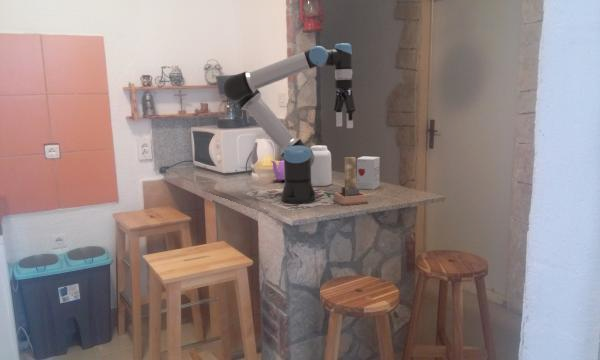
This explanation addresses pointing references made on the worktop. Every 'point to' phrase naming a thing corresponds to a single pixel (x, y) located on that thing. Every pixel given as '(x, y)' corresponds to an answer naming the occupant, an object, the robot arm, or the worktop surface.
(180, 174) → the worktop surface
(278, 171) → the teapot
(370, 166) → the supplement box
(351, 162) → the bar
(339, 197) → the square copper tray
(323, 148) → the can
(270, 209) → the worktop surface
